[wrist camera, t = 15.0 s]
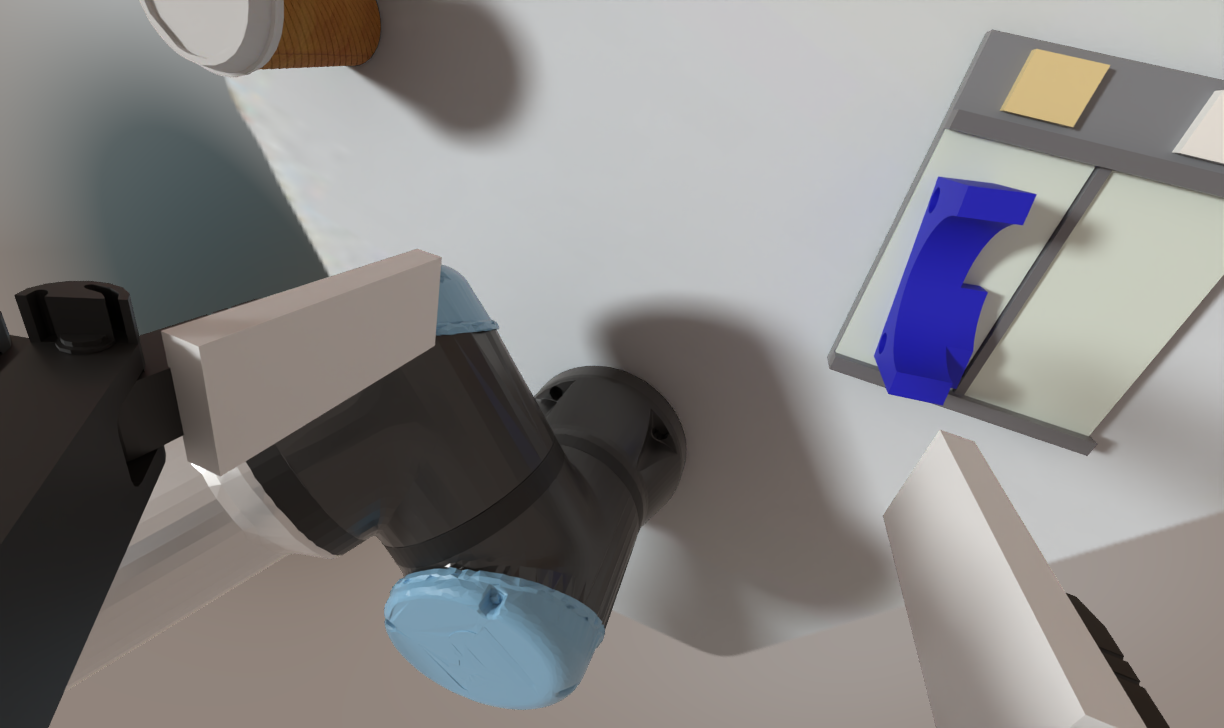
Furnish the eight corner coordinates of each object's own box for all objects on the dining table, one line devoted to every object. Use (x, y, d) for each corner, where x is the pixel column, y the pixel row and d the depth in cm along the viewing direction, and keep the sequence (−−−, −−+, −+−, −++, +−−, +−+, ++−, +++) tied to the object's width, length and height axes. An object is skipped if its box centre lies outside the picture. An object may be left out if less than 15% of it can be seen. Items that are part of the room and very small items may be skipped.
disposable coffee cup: (276, -40, 39) (90, -102, 29) (375, -78, 36) (206, -164, 25) (321, 99, 42) (169, 89, 32) (415, 75, 39) (281, 56, 29)
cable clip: (943, 369, 35) (971, 411, 30) (873, 355, 36) (888, 393, 31) (1022, 186, 30) (1072, 198, 25) (938, 176, 31) (968, 185, 26)
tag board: (827, 356, 38) (829, 368, 37) (986, 32, 29) (1000, 25, 27) (1071, 438, 36) (1087, 455, 34) (1339, 110, 26) (1383, 108, 24)
